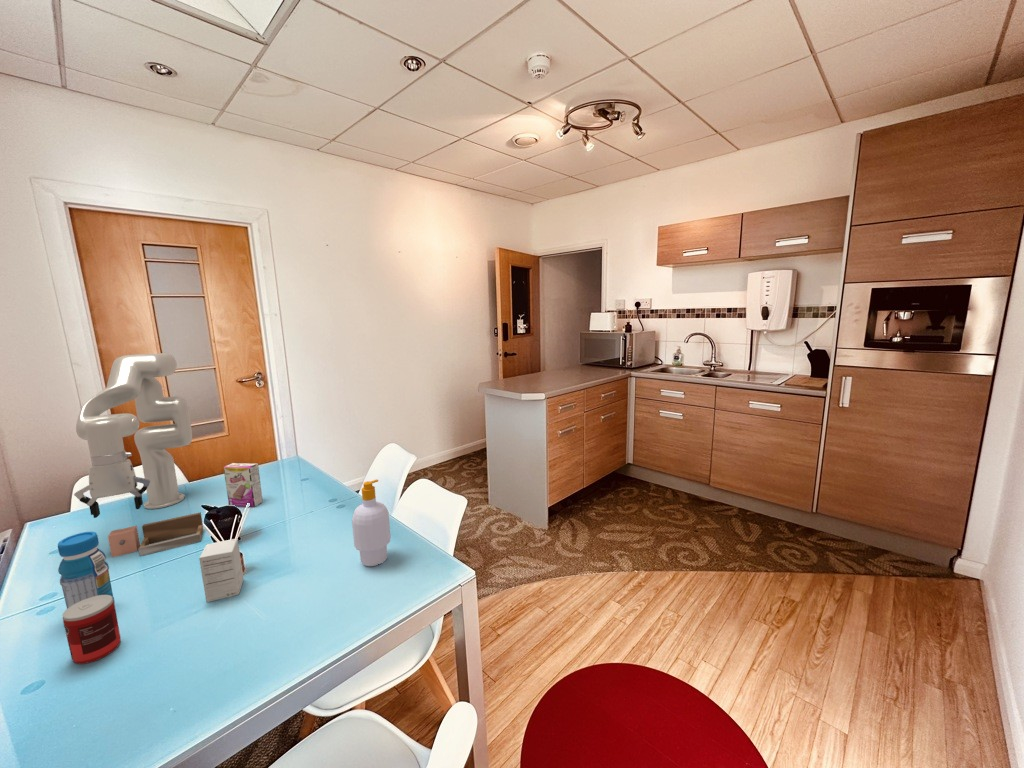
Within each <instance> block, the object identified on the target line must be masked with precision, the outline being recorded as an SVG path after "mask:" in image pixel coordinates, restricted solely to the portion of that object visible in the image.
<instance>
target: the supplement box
mask: <svg viewBox="0 0 1024 768" xmlns="http://www.w3.org/2000/svg"><path fill="white" fill-rule="evenodd" d="M242 564H243V563H242V559H241V552H240V545H239V539H238V538H232V539H228V540H227V539H226V540H222V541H216V542H213V543H212V542H211V543H208V544H206V545H205V546H204V548H203V550H202V553H200V556H199V565H200V572H201V577H202V584H203V590H204V595H205V600H206V601H205V602H207V603H209V602H213V601H218V600H223V599H225V598H230V597H234V596H238V595H239V594H240V592H241V589H242V586H243V582H244V573H243V565H242Z"/></svg>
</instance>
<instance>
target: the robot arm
mask: <svg viewBox="0 0 1024 768" xmlns="http://www.w3.org/2000/svg"><path fill="white" fill-rule="evenodd" d="M176 360H177V359H176V358H175V357H174V356H173V354H171V353H169V352H167V353H166V352H163V353H161V352H160V353H159V352H158V353H138V354H137V353H136V354H127V355H126V354H125V355H122V356H118V357H117V358H115V359H114V361H113V363H112V365H111V369H110V372H109V376H108V380H107V382H106V387H105V388H104V389H103V390H100V391H99V392H98V393H96V394H95V395H93V396H92V397H91V398H89V399H88V400H87V401H86V402H85V403H84V404H82V406H81V407H80V410H79V414H78V415H77V416H78V417H77V421H76V427H75V430H76V431H75V432H76V434H77V436H78V437H79V438H80V440H84V441H87V445H88V450H89V455H90V462H91V465H90V466H89V468H88V485H86V486H85V487H82V488H81V489H79V490H77V491H76V492H74V494H73V496H74V497H75V498H76V499H78V500H79V502H81V503H83V504H86V506H88V507H89V511H90V515H91V516H93V518H94V519H96V518H98V516H100V515H101V510H100V505H99V502H98V501H97V500H98V499H101V498H107V497H108V498H109V497H112V496H113V497H114V496H118V495H123V494H129V493H130V494H131V495H133V496H134V498H133V499H134V506H135V510H140V509H141V507H142V506H143V507H144V508H145V509H149V510H156V509H162V508H166V507H170V506H173V505H176V504H178V503H180V502H182V501H183V500H185V494H183V493H181V492H179V484H178V479H177V472H176V468H175V467H176V466H175V460H174V457H173V455H172V454H171V453H169V452H168V451H167V449H168V450H169V449H175V448H182V447H186V446H188V445H189V446H190V445H191V443H192V441H193V430H192V422H191V415H190V408H189V403H188V401H187V400H186V399H185V397H182V396H177V395H176V396H164V391H163V385H162V384H161V382H160V381H159V380H158V379H157V378H162V377H167V376H172V375H173V374H174V373H175V372H176V370H177V366H178V365H177V361H176ZM133 400H134V403H135V411H136V415H135V414H133V413H125V412H124V413H115V414H114V413H113V414H111V413H110V414H103V413H105V412H106V411H108V410H110V409H113V408H115V407H118V406H121V405H124V404H126V403H128V402H129V403H130V402H131V401H133ZM140 422H141V423H145V424H147V423H149V424H150V423H161V422H163V423H164V422H174V423H171V424H160V425H159V424H158V425H152V426H151V425H150V426H145V427H142V428H140ZM139 428H140V429H139ZM132 435H134V440H133V441H134V443H135V446H136V448H137V451H138V453H139V454H138V455H139V456H140V461H141V465H142V473H143V477H144V478H143V477H139V476H138V477H137V476H136V472H135V469H134V466H133V464H132V463H133V462H132V461H131V459H129V457H132V456H133V455H132V454H133V453H132V452H129V451H128V452H127V451H126V450H125V446H124V445H125V443H124V438H125V437H129V436H132ZM138 483H139V484H143V486H142V487H141V488H138ZM88 491H89V494H90V497H89V496H86V495H85V493H86V492H88ZM145 492H146V493H147V499H148V500H146V502H143V496H142V495H143V494H144V493H145ZM143 503H144V504H143Z"/></svg>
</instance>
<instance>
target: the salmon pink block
mask: <svg viewBox="0 0 1024 768" xmlns="http://www.w3.org/2000/svg"><path fill="white" fill-rule="evenodd" d="M107 539H108V544H109V549H110V550H109V551H110V554H111V558H115V557H119V556H124V555H127V554H130V553H131V554H132V553H135V552H136V553H137V552H139V547H140V545H141V543H140V537H139V531H138V526H137V525H133V526H128V527H123V528H120V529H115V530H111V531H110V533H109V534H108V536H107Z"/></svg>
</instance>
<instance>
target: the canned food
mask: <svg viewBox="0 0 1024 768" xmlns="http://www.w3.org/2000/svg"><path fill="white" fill-rule="evenodd" d="M114 601H115V600H114ZM114 601H113V598H112V596H110V595H99V596H94V597H90V598H87V599H84V600H82V601H80V602H78V603H76V604H74V605H72V606H70V607H69V608H68V609H67V608H66V609H65V610H64V611H63V613H62V622H63V625H64V626H63V627H64V631H65V634H66V635H65V636H66V639H67V644H68V647H69V648H68V649H69V653H70V657H71V660H72V661H73V662H74V663H75V664H77V665H78V664H79V665H81V664H83V665H85V664H91V663H93V662H96V661H98V660H100V659H103V658H105V657H106V656H108V655H110V654H111V653H113V652H114V651H116V649H117V648H118V647H119V646H120V644H121V639H122V637H121V633H120V627H119V622H118V617H117V611H116V606H115V603H114Z"/></svg>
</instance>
